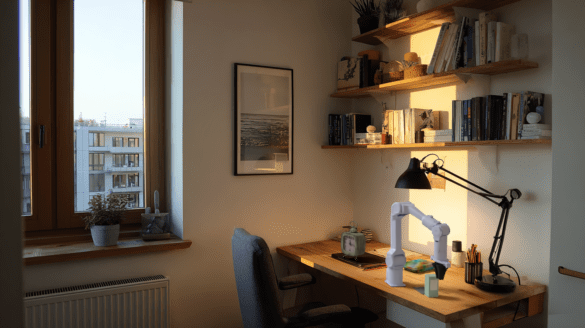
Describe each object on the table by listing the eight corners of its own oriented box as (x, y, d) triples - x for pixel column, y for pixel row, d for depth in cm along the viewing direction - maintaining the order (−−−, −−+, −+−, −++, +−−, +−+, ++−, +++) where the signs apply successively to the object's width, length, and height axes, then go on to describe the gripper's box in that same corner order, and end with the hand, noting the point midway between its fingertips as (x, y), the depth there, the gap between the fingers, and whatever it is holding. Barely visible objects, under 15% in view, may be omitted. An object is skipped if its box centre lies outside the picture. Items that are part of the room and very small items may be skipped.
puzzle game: (436, 261, 247) (414, 266, 236) (436, 269, 247) (414, 274, 236) (420, 257, 257) (398, 262, 246) (420, 265, 257) (398, 269, 246)
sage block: (424, 294, 202) (424, 274, 202) (434, 294, 203) (434, 273, 203) (428, 297, 198) (429, 276, 197) (438, 297, 199) (439, 276, 198)
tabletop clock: (340, 258, 270) (341, 220, 270) (350, 256, 276) (351, 218, 275) (356, 263, 259) (357, 223, 258) (366, 261, 264) (367, 221, 263)
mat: (412, 287, 212) (412, 287, 212) (425, 287, 213) (425, 286, 213) (422, 294, 202) (422, 293, 202) (435, 293, 203) (435, 293, 203)
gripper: (457, 253, 186) (456, 283, 186) (440, 246, 200) (439, 274, 201) (442, 253, 185) (442, 284, 185) (426, 246, 199) (426, 274, 199)
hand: (439, 279), depth 193 cm, fingers closed
